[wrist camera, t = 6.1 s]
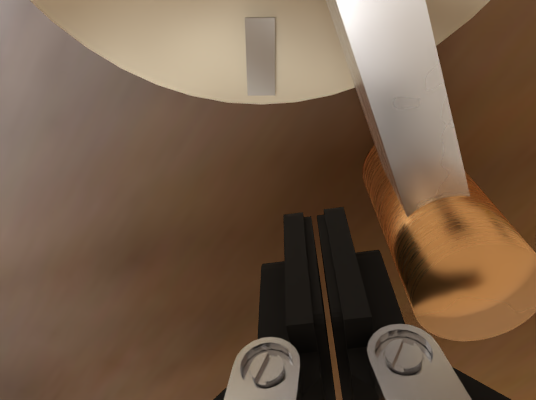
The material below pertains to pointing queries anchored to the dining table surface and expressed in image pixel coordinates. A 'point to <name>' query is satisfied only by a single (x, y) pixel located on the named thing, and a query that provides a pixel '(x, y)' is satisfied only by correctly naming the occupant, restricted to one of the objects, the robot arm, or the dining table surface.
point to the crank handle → (430, 180)
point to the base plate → (229, 43)
